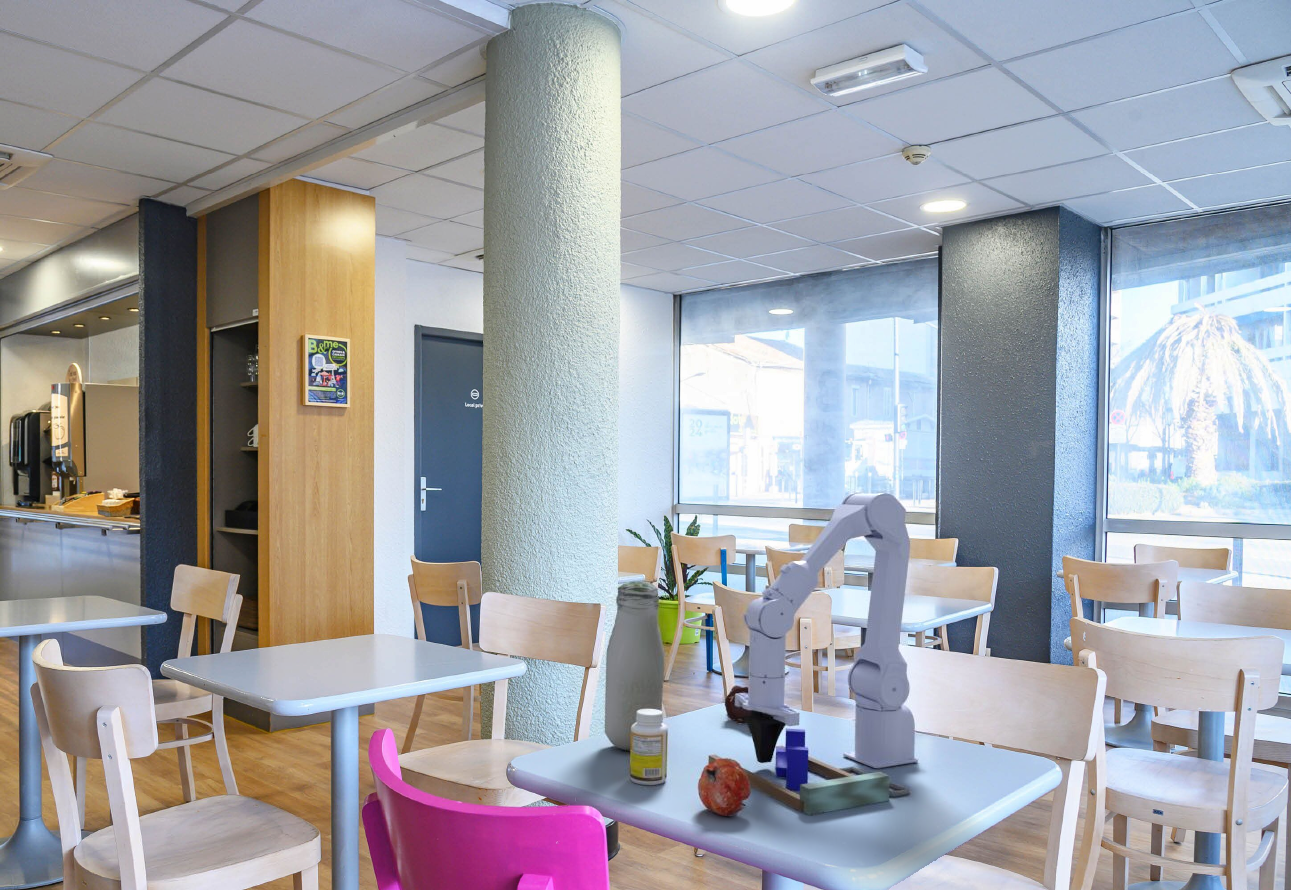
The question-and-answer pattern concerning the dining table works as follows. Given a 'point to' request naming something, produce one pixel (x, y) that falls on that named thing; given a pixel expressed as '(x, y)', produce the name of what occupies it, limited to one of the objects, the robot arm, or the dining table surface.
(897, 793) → the cord loop
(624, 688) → the glass bottle
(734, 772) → the pomegranate
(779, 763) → the cable clip
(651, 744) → the supplement bottle
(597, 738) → the dining table surface
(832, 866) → the dining table surface
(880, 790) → the guide lane
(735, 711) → the icecream
